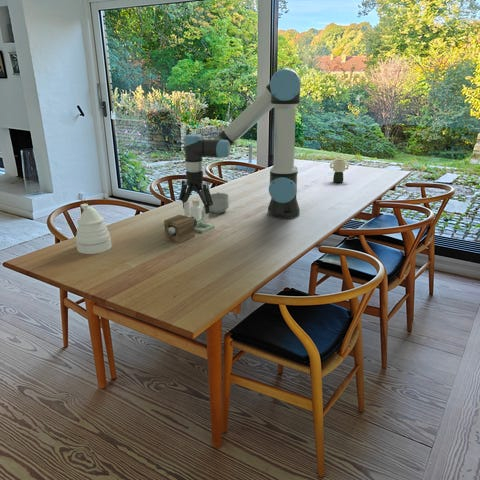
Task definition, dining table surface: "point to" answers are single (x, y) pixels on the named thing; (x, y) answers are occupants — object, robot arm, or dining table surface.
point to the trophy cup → (338, 169)
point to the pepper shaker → (196, 210)
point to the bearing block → (180, 228)
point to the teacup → (219, 202)
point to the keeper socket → (204, 228)
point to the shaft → (173, 230)
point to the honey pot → (92, 232)
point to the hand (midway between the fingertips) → (196, 217)
